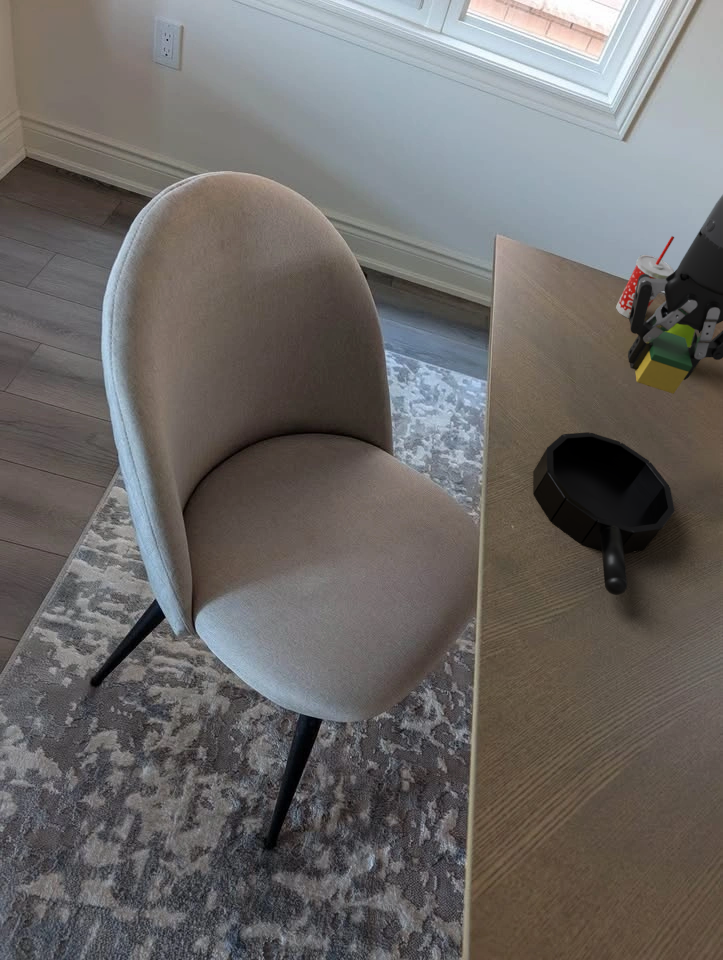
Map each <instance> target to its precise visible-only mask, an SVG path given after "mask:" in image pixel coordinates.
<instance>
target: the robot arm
mask: <svg viewBox="0 0 723 960" xmlns="http://www.w3.org/2000/svg"><path fill="white" fill-rule="evenodd" d="M661 292H664V297H665V301H664V302H662V303H661V304H660V305H659V306H658V307H657V308H656V310H655V311H654V313H653V315H651V316H649V318H648V319H647V320H646V316H647V312H648V309H649V308H648V304H649V300H653V301H654V300H655V299H656V298H657V297H658V295H659V293H661ZM647 308H648V309H647ZM628 320H629V325H630V327H629V328H630V332H631V333H632V334H634V335H637V337H636V338H635V340H634V342H633V343H632V345H631V347H630V348H629V350H628V352H627V358H628V363H629V367H630V369H633V370H634V371H635V370H637V369H638V368H639V366H640V364H641V363H642V361H643V360H644V358H645V356H646V355H647V353H648V352H649V350H650V348H651V347H652V342H653V341H654V340H655V339H656V338H657V337H658V336H660V335H661V334H662V333H663V332H664V331H668V330H670V329H671V328H672V327H673V326H674V325H675V324H676V323H677V324H681V325H689V326H690V327H692V328H693V329H695V331H694V335H693V339H692V343H691V346H690V347H688V351H689V355H690V359H691V363H692V368H691V369H690V371H689V372H688V374H687V375H686V377H685V378H684V380H683V381H685V380H687V379H689V377H691V374H693V372H694V371H695V369H696V368H697V366H698V364H699V363H700V362H701V360H703V359H705V358H712V359H714V360H716V361H719V360H720V361H721V360H722V359H723V330H722V331H721V332H720V333H718V334H717V335H716V336H715V337H714V334H715V330H716V326H717V325H718V324H720V323H723V194H721V196H720V197H719V199H718V200H717V201H716V203H715V204H714V206H713V208H712V209H711V211H710V213H709V214H708V216H707V217H706V219H705V221H704V222H703V224H702V226H701V227H700V229H699V231H698V233H697V234H696V236H695V237H694V239H693V241H692V242H691V244H690V246H689V247H688V249H687V251H686V253H685V254H684V256H683V257H682V259H681V261H680V262H679V265H678V266H677V268H676V270H674V272H673V273H672V274H671V275H669V276H668V277H667V278H666V279H652V278H650V276H649V275H648V274H642V275H640V276H639V278H638V282H637V286H636V291H635V295H634V299H633V303H632V308H631V312H630V316H629V318H628Z"/></svg>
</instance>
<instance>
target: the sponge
mask: <svg viewBox="0 0 723 960" xmlns="http://www.w3.org/2000/svg"><path fill="white" fill-rule="evenodd" d="M691 368H692V363H691V359H690V355H689V351H688V347H687V343H686V339H685V338H684V337H681V336H678V335H675V334H671V333H668V332H665V331H664V332H663V333H662V334H661V335H660V336H658V337H657V338H656V339H655V340H654V341H653V342H652V347H651V348H650V350H649V352H648V353H647V355H646V356H645V358H644V360H643V361H642V363H641V364H640V366H639V368H638V369H637V370H635V369H634V373H635V379H636V383H637V384H638V383H639V384H641V385H644V386H647V387H651V388H653V389H656V390H660V391H663V392H667V393H669V394H672V395H674V394H675V392H676V391H677V390H678V389H679V387H680V385H682V382H683V381H685V380H684V378H685V377H686V375H687V374H688V372H689V371H690V369H691Z"/></svg>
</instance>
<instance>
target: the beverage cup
mask: <svg viewBox="0 0 723 960" xmlns="http://www.w3.org/2000/svg"><path fill="white" fill-rule="evenodd" d="M674 239H675V236H673V235H671V237H670V238H669V240H668V242H667V244H666V245H665V247H664V249H663V250H662V252H661V254H660V255H659V257H655V256H653V255H650V254H642V255H640V256H638V258H637V260H636V262H635V263H636V264H635V267H634V269H633V271H632V273H631V275H630V277H629V278H628V281H627V283H626V285H625V287H624V289H623V291H622V294H621V295H620V297H619V300H618V302H617V303H616V306H615V308H616V310H617V312H618V313H619V314H620V315H621V316H623V317H625V318H626V319H629V316H630V312H631V308H632V303H633V299H634V295H635V291H636V286H637V282H638V278H639V276H640V275H642V274H648V275H649V276H650V278H652V279H666V278H667V277H668V276H669V275H671V274H672V273H673V272H675V270H674V269H673V267H672V266H671V265H670V264H668V263H667V262H666V261H664V260H662V259H663V258H664V257H665V254H666V252H667V251H668V249H669V248H670V246H671V244H672V242H673V241H674ZM653 302H654V300H649V304H648V308H647V310H648V309H649V308H650V306H651V305H652V304H653Z"/></svg>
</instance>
